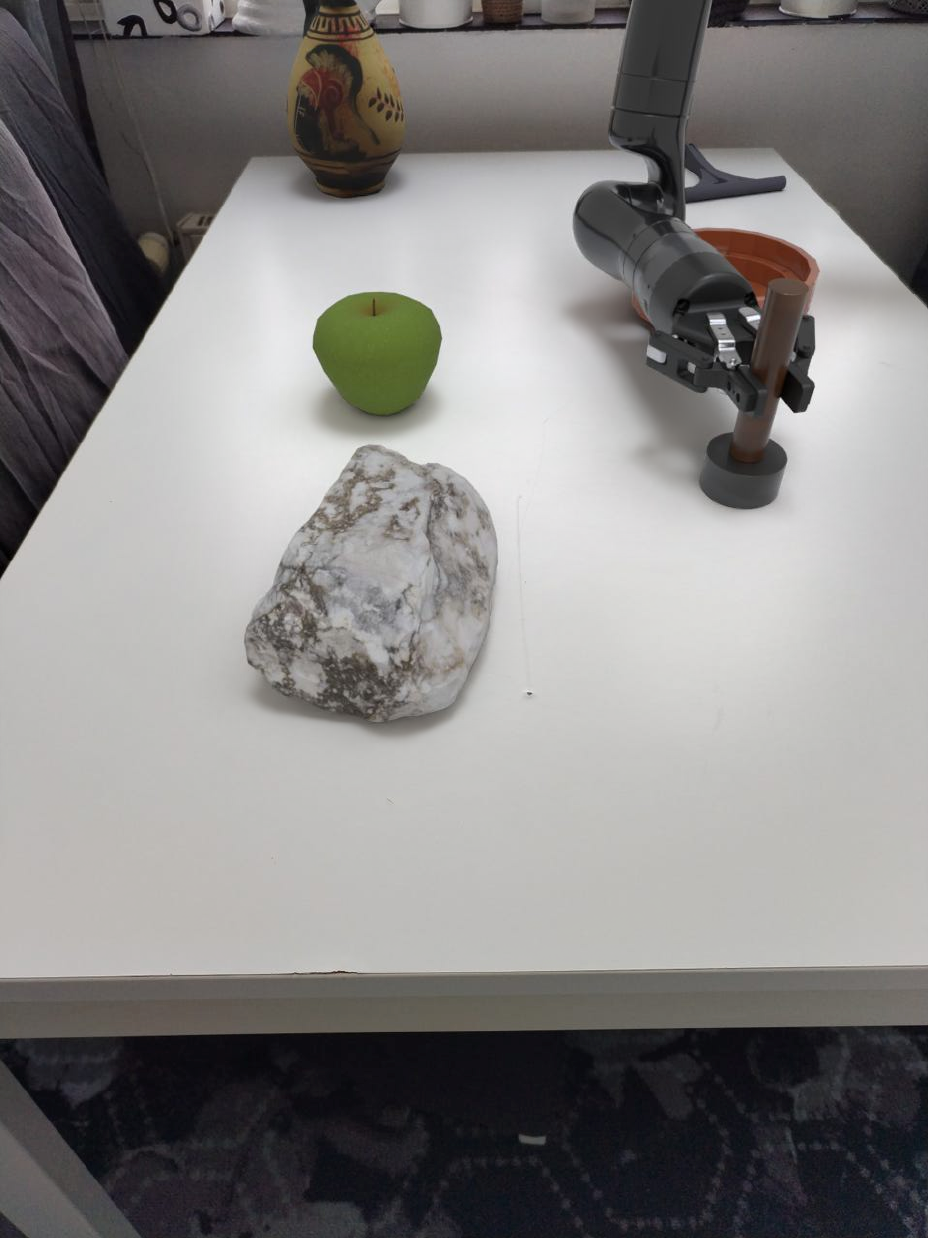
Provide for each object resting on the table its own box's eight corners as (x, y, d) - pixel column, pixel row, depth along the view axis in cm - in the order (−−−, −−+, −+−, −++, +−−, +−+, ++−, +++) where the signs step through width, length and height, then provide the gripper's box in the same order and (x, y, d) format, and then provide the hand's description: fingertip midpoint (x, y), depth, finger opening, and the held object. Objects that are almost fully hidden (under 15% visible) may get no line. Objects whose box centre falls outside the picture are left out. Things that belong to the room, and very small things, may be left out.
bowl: (760, 267, 96) (771, 221, 93) (836, 340, 84) (852, 290, 80) (609, 282, 94) (614, 235, 91) (664, 359, 82) (672, 309, 78)
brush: (758, 459, 70) (810, 262, 59) (791, 503, 66) (854, 301, 55) (688, 468, 69) (727, 271, 58) (717, 513, 65) (765, 310, 54)
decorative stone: (353, 491, 65) (358, 391, 57) (520, 550, 65) (550, 457, 56) (236, 703, 55) (222, 618, 46) (435, 776, 54) (457, 703, 45)
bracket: (728, 156, 123) (732, 134, 121) (784, 190, 113) (790, 167, 111) (636, 168, 120) (638, 146, 118) (684, 204, 110) (688, 181, 108)
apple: (457, 382, 80) (454, 275, 73) (423, 444, 73) (416, 332, 65) (348, 368, 82) (335, 263, 75) (304, 427, 75) (285, 317, 68)
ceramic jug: (431, 176, 119) (419, -105, 98) (364, 213, 110) (335, -89, 89) (334, 157, 126) (303, -111, 105) (264, 190, 117) (214, -96, 95)
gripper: (614, 258, 68) (696, 364, 56) (781, 242, 69) (895, 342, 57) (605, 346, 73) (678, 461, 61) (760, 329, 75) (860, 438, 63)
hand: (782, 403), depth 59 cm, fingers closed on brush, 2 cm apart
